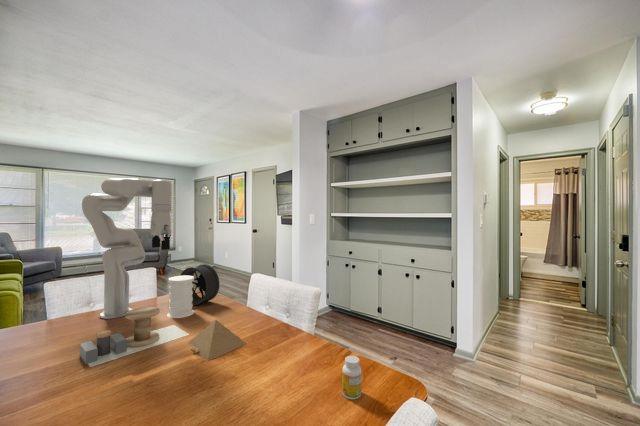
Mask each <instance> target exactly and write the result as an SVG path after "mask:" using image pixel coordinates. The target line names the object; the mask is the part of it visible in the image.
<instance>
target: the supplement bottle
mask: <svg viewBox="0 0 640 426" xmlns="http://www.w3.org/2000/svg"><path fill="white" fill-rule="evenodd" d="M344 363H345V364H343V366H342V373H341V374H342V375H341V376H342V377H341V394H342V395H343V397H344V398H346V399H348V400H357V399H359V398H360V397H361V395H362V377H363V376H362V373H363V372H362V368H361V365H360V358H359V357H358V356H355V355H348V356H345V358H344Z"/></svg>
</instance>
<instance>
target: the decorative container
mask: <svg viewBox="0 0 640 426" xmlns="http://www.w3.org/2000/svg"><path fill="white" fill-rule="evenodd" d="M194 279H195V276H194V275H193V276H189V275H183V276H180V275H175V276H172V277H168V283H169V286H168V287H169V293H168V297H169V300H168V303H169V306H168V310H169V312H168V313H167V314H166V316H167V318H170V319H181V318H183V319H184V318H187V317H190V316H192V315H193V314H195V311H194V310H193V306H194V305H192V301H193V297H192V294H193V291H192V288H194V284H192V281H193V282H195V280H194Z"/></svg>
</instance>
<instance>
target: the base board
mask: <svg viewBox="0 0 640 426" xmlns="http://www.w3.org/2000/svg"><path fill="white" fill-rule="evenodd" d="M150 332H156V333H158V334H159V339H158V340H157V341H156V342H154V343H152V344H150V345H146V346H142V347H134V348H132V347H127V351H126V352H123V353H120V354H115V353H114V352H113V351H112V350H111V349H110V353H109V354H107V355H104V356H98V361H95V362H91V363H88V364H87V365H88V366H89V367H90V368H93V367H95V366H98V365H101V364H105V363H107V362H110V361H114V360H117V359H120V358H123V357H126V356H129V355H132V354H134V353H137V352H141V351H144V350H146V349H147V350H148V349H150V348H153V347H156V346H159V345H161V344H165V343H168V342H172V341H174V340H178V339H181V338H183V337H186V336H189V335H190V334H189V333H188V332H187V331H185V330H184V329H182V328H180V327H178V326H176V325H175V324H172V325H168V326H166V327H161V328H158V329H155V330H150ZM127 338H128V337H127ZM127 338H126V337H125V339H127Z"/></svg>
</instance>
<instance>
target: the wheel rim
mask: <svg viewBox="0 0 640 426" xmlns="http://www.w3.org/2000/svg"><path fill="white" fill-rule="evenodd" d="M197 272H198V273H200V274H199V276H198V274H197ZM183 275H189V276H194V275H195V277H194V281H192V284H193V285H195V287H193V288H192V291H193V294H192V297H193V301H192V305H193V306H198V305H199V304H201V303H203V302H208V301H212V300H214V299H215V298H216V296H217V295H218V293H219V292H220V291H219V290H220V278H219V275H218V272H217V271H216V269H214V268H213V266H211V265H209V264H206V263H205V264H203V263H202V264H200V265H198V266H196V267H193V266H191V267H187V268H185V269H184V270H183V271H182V272H181V273H180V275H179V276H183ZM196 281H197V282H196ZM197 288H198V290H199V291H198V292H196V290H197ZM198 294H201V296H199V295H198Z"/></svg>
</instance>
